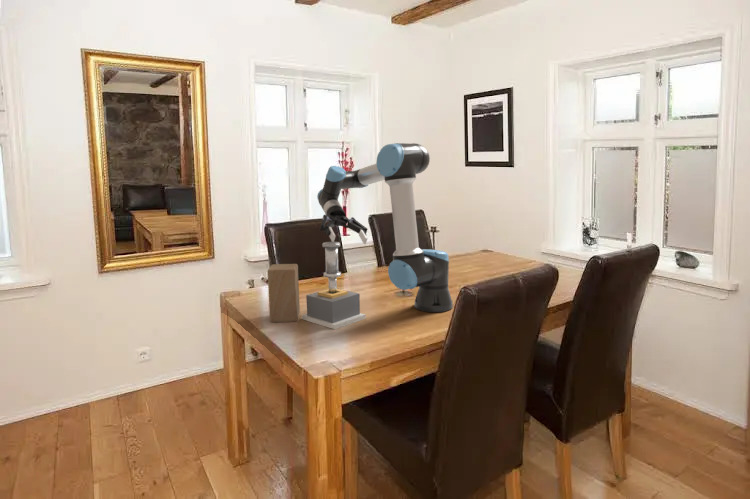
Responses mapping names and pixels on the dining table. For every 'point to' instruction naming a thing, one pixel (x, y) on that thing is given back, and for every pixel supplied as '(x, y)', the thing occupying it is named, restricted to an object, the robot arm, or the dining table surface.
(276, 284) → the wooden block
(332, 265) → the steel pin
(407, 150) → the robot arm
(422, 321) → the dining table surface
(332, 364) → the dining table surface
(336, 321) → the pin housing
